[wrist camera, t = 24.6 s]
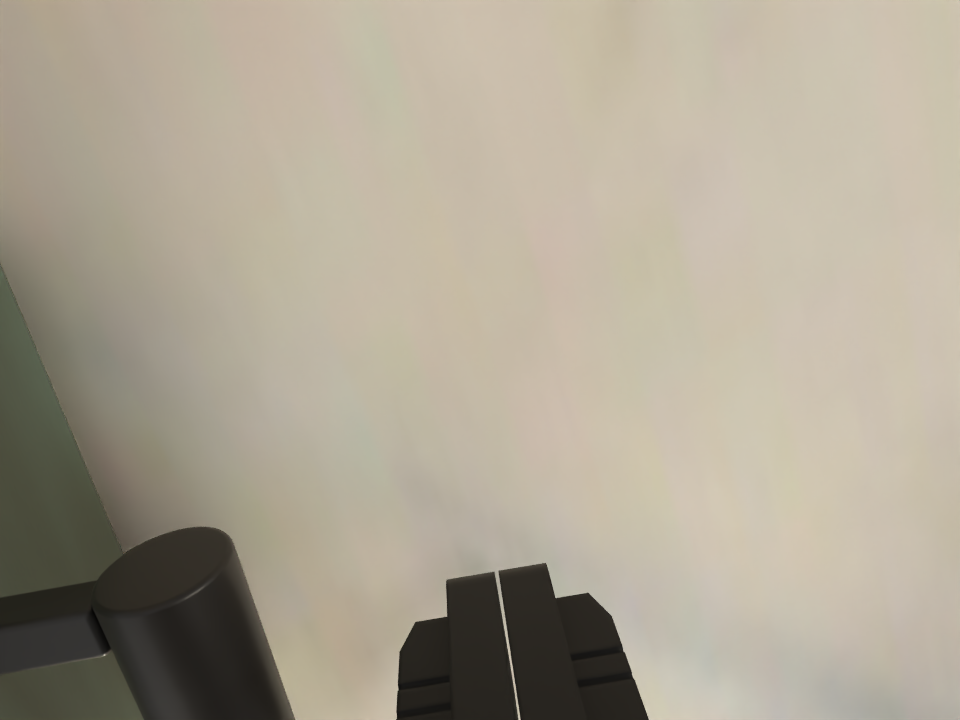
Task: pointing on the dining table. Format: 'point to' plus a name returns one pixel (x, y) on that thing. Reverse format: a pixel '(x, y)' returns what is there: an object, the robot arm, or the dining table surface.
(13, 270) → the dining table surface
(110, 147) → the dining table surface
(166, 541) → the drawer
